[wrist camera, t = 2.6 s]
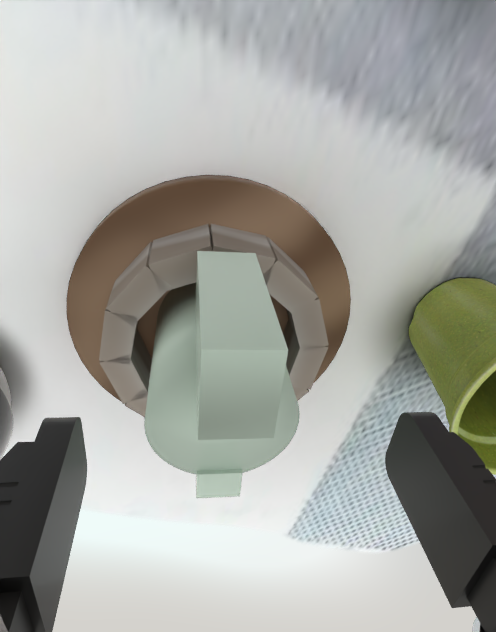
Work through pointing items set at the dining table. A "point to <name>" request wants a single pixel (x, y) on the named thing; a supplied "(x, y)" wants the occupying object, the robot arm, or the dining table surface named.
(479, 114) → the dining table surface
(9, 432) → the dark rounded figure
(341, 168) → the dining table surface
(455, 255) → the dining table surface
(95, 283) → the stone ring brown dish
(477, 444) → the plant pot
